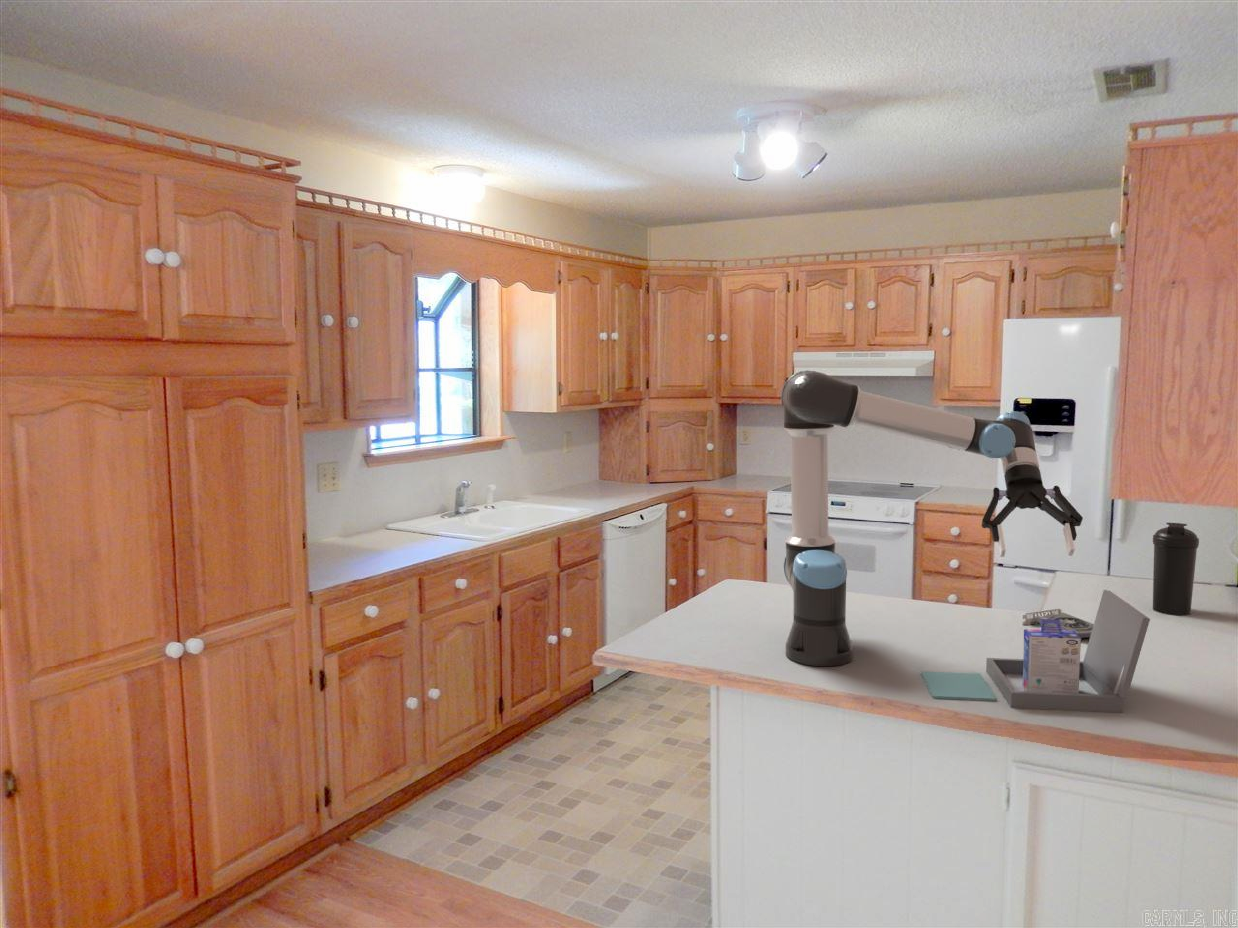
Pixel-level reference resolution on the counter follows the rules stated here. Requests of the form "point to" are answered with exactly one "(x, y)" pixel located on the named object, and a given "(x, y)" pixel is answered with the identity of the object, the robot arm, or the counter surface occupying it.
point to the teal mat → (957, 686)
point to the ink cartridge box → (1051, 659)
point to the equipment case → (1088, 663)
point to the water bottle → (1174, 569)
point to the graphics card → (1061, 622)
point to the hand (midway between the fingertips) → (1037, 553)
